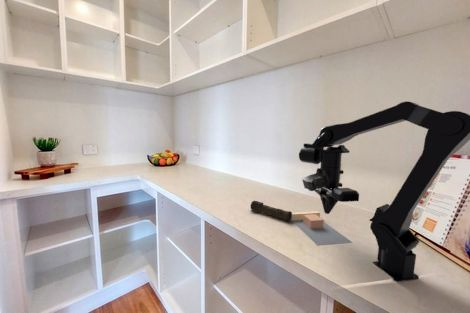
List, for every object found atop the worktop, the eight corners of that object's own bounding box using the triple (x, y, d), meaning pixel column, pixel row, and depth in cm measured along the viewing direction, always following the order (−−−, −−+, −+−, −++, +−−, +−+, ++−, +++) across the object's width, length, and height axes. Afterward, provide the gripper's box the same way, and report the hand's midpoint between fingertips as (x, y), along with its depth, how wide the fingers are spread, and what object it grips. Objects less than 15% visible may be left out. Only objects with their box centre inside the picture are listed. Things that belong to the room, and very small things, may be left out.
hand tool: (292, 220, 75) (293, 208, 75) (287, 223, 72) (288, 211, 72) (254, 208, 88) (254, 198, 88) (249, 210, 85) (249, 200, 85)
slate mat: (352, 243, 60) (353, 234, 59) (317, 246, 58) (317, 237, 57) (317, 218, 78) (317, 211, 77) (289, 220, 76) (290, 212, 75)
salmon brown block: (323, 227, 69) (323, 219, 68) (310, 228, 68) (310, 220, 68) (315, 221, 74) (315, 214, 73) (303, 222, 73) (303, 214, 72)
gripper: (293, 162, 68) (290, 204, 70) (326, 172, 50) (322, 228, 52) (321, 162, 70) (318, 203, 72) (363, 171, 52) (357, 226, 54)
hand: (326, 213), depth 62 cm, fingers closed
